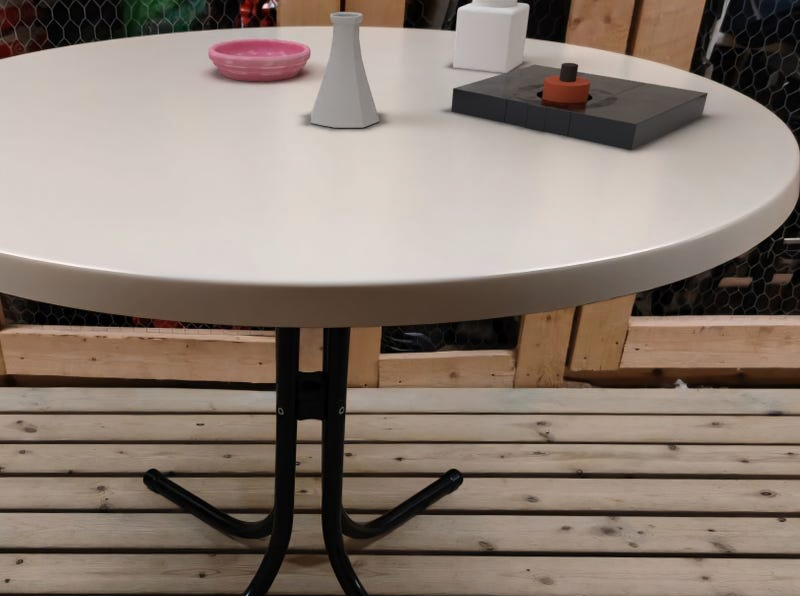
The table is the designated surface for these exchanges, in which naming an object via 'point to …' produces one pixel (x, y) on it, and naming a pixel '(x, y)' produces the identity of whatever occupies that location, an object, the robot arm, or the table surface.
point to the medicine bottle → (490, 35)
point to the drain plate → (582, 107)
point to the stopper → (566, 86)
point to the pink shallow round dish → (259, 59)
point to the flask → (345, 79)
